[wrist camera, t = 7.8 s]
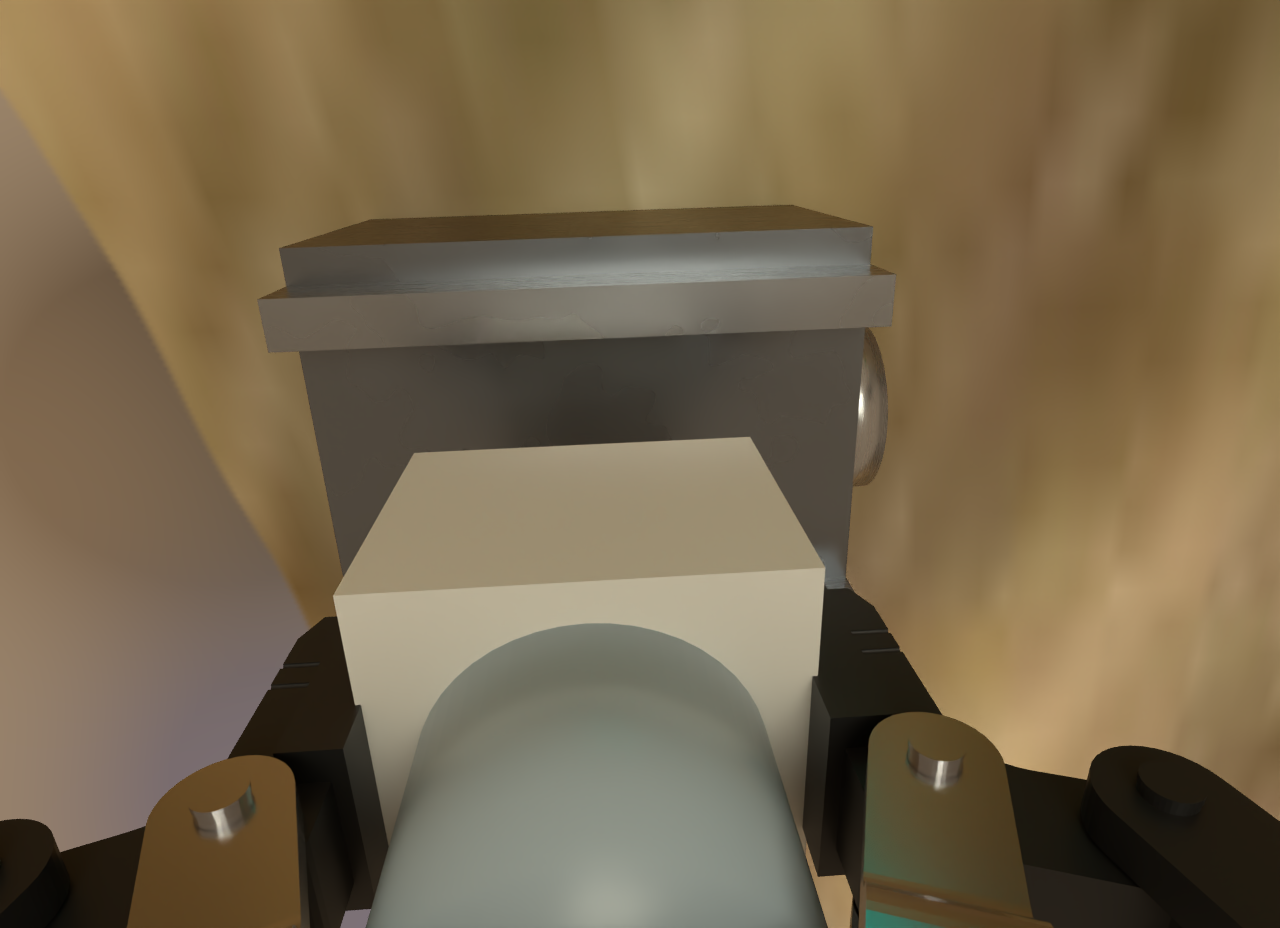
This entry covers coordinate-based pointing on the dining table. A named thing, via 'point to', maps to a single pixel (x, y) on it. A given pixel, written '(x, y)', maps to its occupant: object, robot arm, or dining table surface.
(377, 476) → the motor housing
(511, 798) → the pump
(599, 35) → the dining table surface
